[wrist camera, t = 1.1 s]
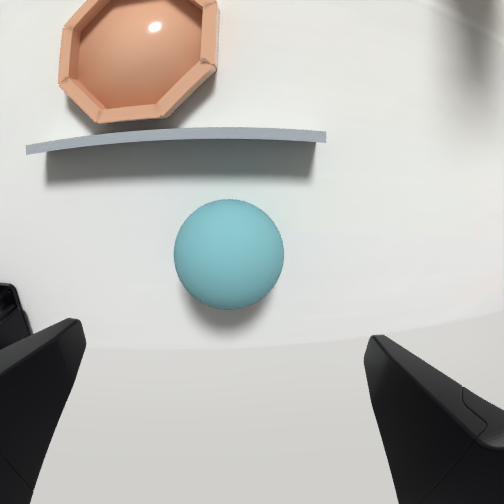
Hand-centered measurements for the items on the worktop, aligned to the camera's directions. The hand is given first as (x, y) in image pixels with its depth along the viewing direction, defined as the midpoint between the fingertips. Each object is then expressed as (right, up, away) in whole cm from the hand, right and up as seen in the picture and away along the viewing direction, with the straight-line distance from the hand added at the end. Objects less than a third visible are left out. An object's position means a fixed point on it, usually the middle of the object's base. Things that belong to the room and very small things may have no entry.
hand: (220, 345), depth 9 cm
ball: (0, +3, +9) cm, 9 cm away
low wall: (-4, +10, +9) cm, 14 cm away
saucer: (-6, +15, +7) cm, 18 cm away
